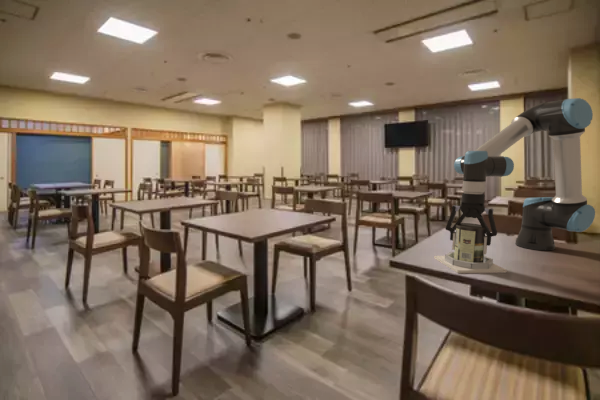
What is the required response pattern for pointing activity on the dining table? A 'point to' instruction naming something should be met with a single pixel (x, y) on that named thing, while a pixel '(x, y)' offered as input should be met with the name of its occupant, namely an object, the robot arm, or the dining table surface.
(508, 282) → the dining table surface
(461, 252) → the coffee can
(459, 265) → the can holder
